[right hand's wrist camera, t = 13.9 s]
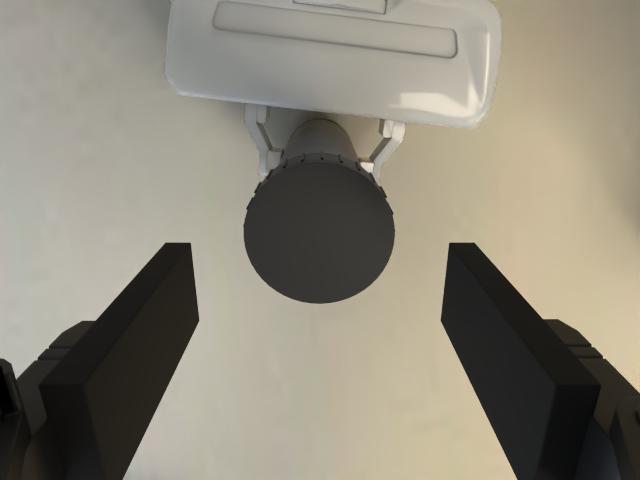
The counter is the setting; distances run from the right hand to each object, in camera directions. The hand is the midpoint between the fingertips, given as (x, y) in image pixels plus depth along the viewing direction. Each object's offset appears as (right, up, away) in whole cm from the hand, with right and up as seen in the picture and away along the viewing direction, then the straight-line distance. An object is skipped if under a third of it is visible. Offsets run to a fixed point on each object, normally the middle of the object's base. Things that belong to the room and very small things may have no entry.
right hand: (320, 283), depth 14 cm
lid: (0, +2, +4) cm, 5 cm away
